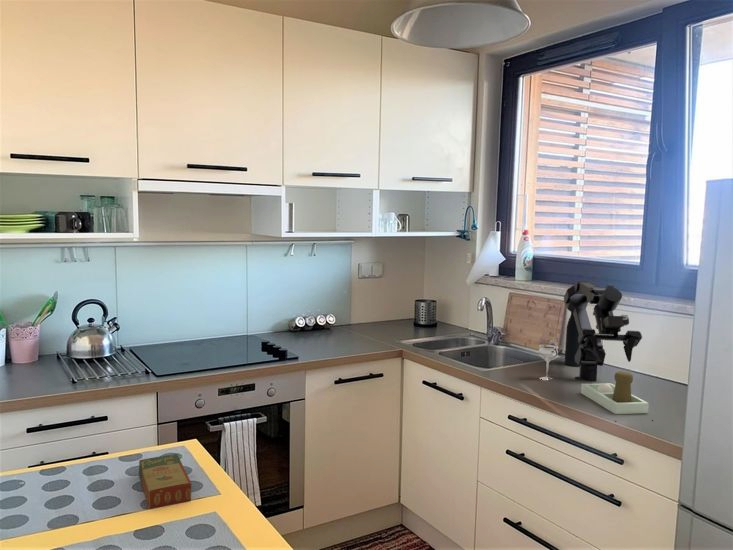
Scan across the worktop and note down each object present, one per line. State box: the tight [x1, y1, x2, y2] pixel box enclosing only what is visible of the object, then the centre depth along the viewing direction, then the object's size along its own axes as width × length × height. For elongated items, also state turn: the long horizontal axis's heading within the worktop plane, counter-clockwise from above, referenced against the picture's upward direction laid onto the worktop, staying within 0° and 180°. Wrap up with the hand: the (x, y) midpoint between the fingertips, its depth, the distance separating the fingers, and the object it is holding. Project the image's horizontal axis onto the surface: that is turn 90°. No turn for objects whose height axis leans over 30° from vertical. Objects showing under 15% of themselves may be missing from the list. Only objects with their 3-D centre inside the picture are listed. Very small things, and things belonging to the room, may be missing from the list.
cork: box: [612, 370, 634, 403], centre depth 181 cm, size 6×6×11 cm
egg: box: [597, 382, 613, 393], centre depth 190 cm, size 5×5×5 cm
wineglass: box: [538, 343, 559, 381], centre depth 213 cm, size 7×7×12 cm
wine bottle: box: [564, 311, 580, 367], centre depth 234 cm, size 6×6×30 cm
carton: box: [138, 453, 192, 510], centre depth 124 cm, size 8×16×4 cm, turn 27°
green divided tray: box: [580, 382, 649, 415], centre depth 186 cm, size 20×10×4 cm, turn 9°
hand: (614, 360), depth 188 cm, fingers open, 9 cm apart
